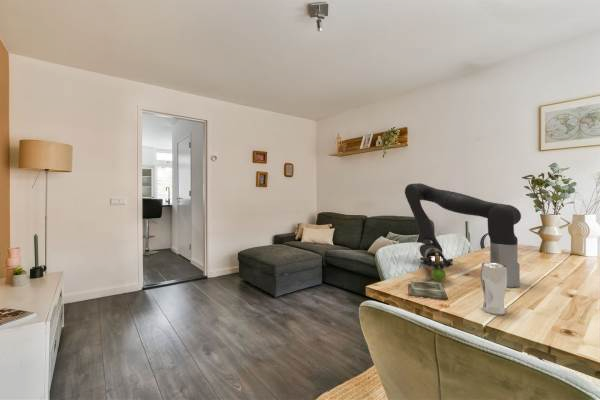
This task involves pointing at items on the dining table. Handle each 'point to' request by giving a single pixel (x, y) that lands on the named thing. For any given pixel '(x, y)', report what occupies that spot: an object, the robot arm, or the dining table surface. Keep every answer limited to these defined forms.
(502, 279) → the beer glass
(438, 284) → the grey shallow tray
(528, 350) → the dining table surface
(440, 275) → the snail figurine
